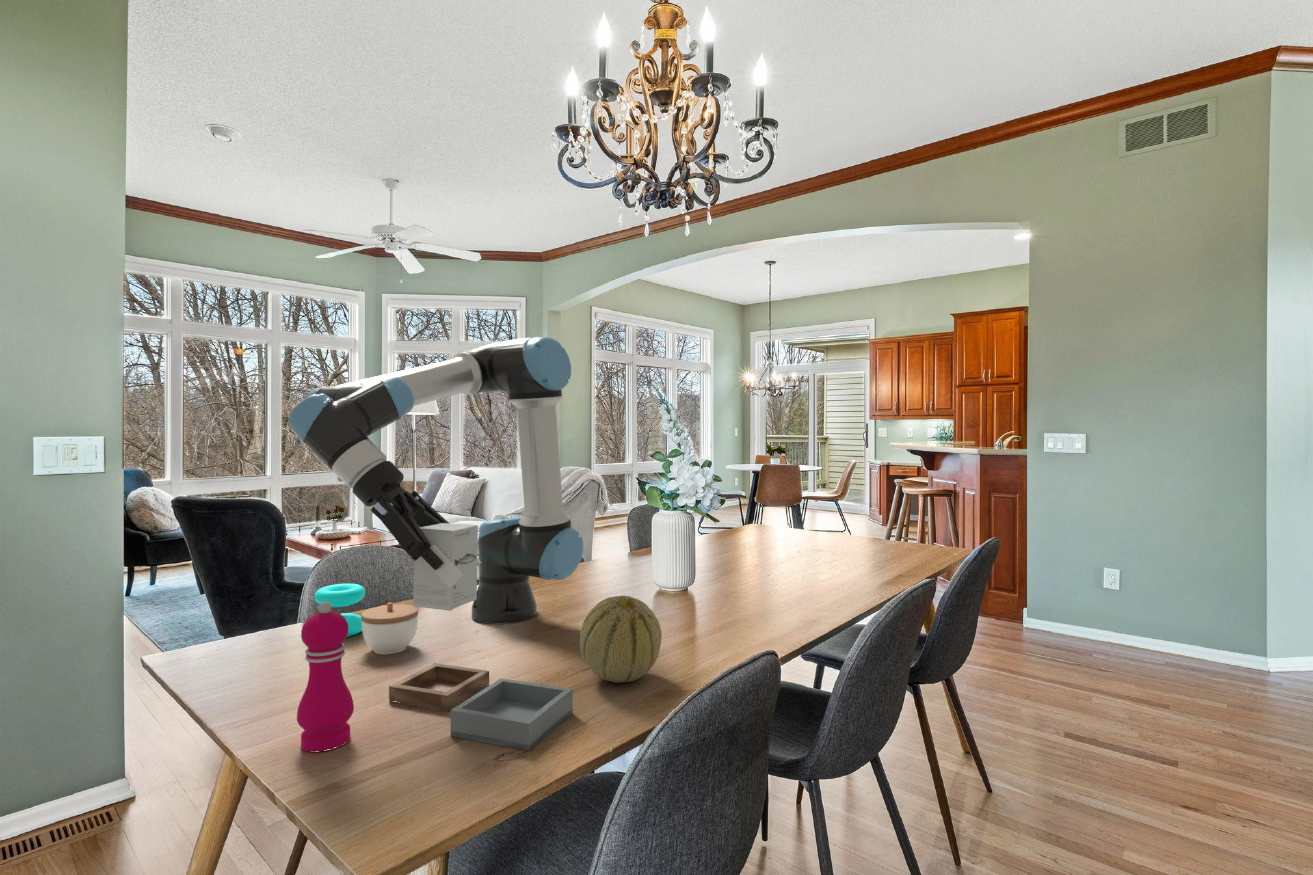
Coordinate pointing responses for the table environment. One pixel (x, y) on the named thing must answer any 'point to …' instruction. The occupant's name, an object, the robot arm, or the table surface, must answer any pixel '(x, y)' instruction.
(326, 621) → the pepper mill
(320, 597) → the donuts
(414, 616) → the lidded jar
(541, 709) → the slate tray
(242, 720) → the table surface
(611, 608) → the cantaloupe
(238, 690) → the table surface
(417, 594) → the supplement box
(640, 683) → the table surface
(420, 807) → the table surface
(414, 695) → the walnut collar
